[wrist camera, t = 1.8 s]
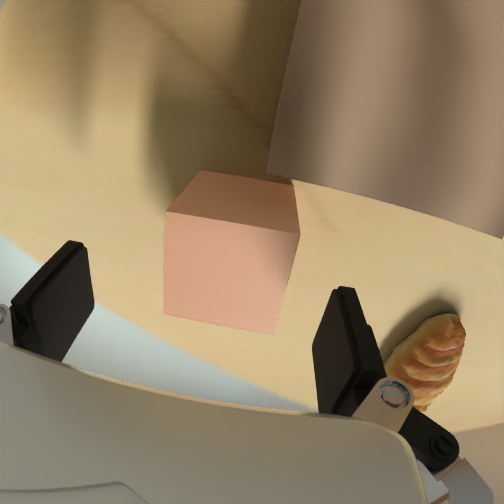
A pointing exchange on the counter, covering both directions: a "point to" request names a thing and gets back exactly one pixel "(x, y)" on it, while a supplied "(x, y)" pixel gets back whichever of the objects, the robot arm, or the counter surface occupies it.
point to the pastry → (428, 358)
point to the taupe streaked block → (398, 105)
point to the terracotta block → (230, 251)
